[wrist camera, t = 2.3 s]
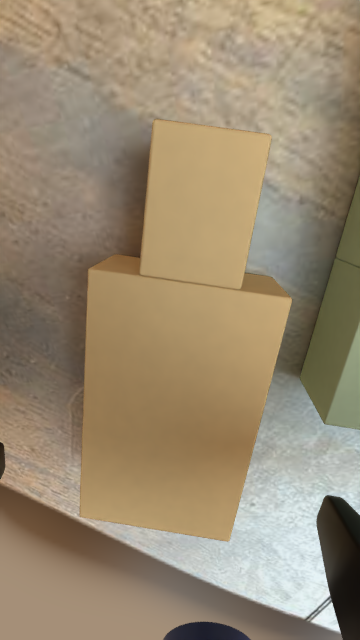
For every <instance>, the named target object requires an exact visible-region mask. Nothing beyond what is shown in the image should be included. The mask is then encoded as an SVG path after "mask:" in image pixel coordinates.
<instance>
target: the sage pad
mask: <svg viewBox="0 0 360 640" xmlns="http://www.w3.org/2000/svg"><path fill="white" fill-rule="evenodd" d="M300 380H301V382H302V384H303V386H304V387H305V389H306V391H307V393H308V395H309V397H310V398H311V400H312V402H313V404H314V406H315V408H316V409H317V411H318V413H319V415H320V417H321V419H322V420H323V422H324V424H327V425H333V426H340V427H346V428H352V429H359V430H360V176H359V179H358V183H357V186H356V190H355V193H354V196H353V200H352V203H351V207H350V210H349V213H348V217H347V220H346V223H345V227H344V230H343V234H342V237H341V240H340V244H339V247H338V251H337V254H336V258H335V260H334V264H333V267H332V270H331V274H330V277H329V280H328V284H327V287H326V291H325V294H324V297H323V301H322V304H321V308H320V311H319V314H318V318H317V321H316V324H315V328H314V331H313V335H312V338H311V341H310V345H309V348H308V352H307V355H306V358H305V362H304V365H303V369H302V372H301V375H300Z"/></svg>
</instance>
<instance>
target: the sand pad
mask: <svg viewBox="0 0 360 640" xmlns="http://www.w3.org/2000/svg"><path fill="white" fill-rule="evenodd" d="M271 140H272V138H271V135H269V134H265V133H257V132H250V131H243V130H235V129H228V128H220V127H213V126H205V125H198V124H191V123H183V122H176V121H168V120H161V119H155V120H154V121H153V123H152V135H151V146H150V157H149V168H148V179H147V190H146V201H145V212H144V224H143V235H142V246H141V257H140V258H138V257H131V256H124V255H118V254H115V255H113V256H111V257H109V258H107V259H106V260H104V261H102V262H100V263H98V264H97V265H95V266H93V267H91V268H89V269H88V286H87V314H86V343H85V371H84V400H83V428H82V457H81V485H80V514H79V515H80V517H84V518H90V519H96V520H102V521H108V522H114V523H120V524H126V525H132V526H138V527H143V528H149V529H155V530H161V531H167V532H173V533H179V534H185V535H191V536H197V537H203V538H209V539H215V540H221V541H227V542H228V541H229V540H230V536H231V532H232V529H233V525H234V521H235V517H236V513H237V509H238V506H239V502H240V498H241V494H242V490H243V487H244V483H245V479H246V475H247V471H248V467H249V464H250V460H251V456H252V452H253V448H254V445H255V441H256V437H257V433H258V429H259V425H260V422H261V418H262V414H263V410H264V406H265V403H266V399H267V395H268V391H269V387H270V383H271V380H272V376H273V372H274V368H275V364H276V361H277V357H278V353H279V349H280V345H281V341H282V338H283V334H284V330H285V326H286V322H287V319H288V315H289V311H290V307H291V303H292V298H291V297H290V296H289V295H288V294H287V293H286V292H285V291H284V289H283V288H282V287H281V286H280V285H279V284H278V283H277V282H276V281H275V280H274V279H273V278H272V277H268V276H262V275H255V274H248V273H245V268H246V263H247V258H248V253H249V248H250V243H251V238H252V233H253V229H254V224H255V219H256V214H257V209H258V204H259V199H260V194H261V189H262V184H263V179H264V174H265V169H266V164H267V160H268V155H269V150H270V145H271Z"/></svg>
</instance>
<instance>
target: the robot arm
mask: <svg viewBox="0 0 360 640" xmlns="http://www.w3.org/2000/svg"><path fill="white" fill-rule="evenodd" d="M4 470H5V452H4V445H3V443H1V442H0V479H1V477H2V475H3V473H4ZM317 530H318V535H319V540H320V545H321V551H322V556H323V561H324V567H325V572H326V577H327V582H328V587H329V591H330V595H331V599H332V603H333V606H334V610H335V613H336V617H337V620H338V624H339V627H340V631H341V635H342V638H343V640H360V515H359V514H358V513H357V512H356V511H355V510H354V509H353V508H352V507H351V506H350V505H349V504H348V503H347V502H346V501H345V500H344V499H342V498H340V497H336V496H330V495H327V496H325V497H324V499H323V502H322V505H321V507H320V510H319V513H318V515H317Z"/></svg>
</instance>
